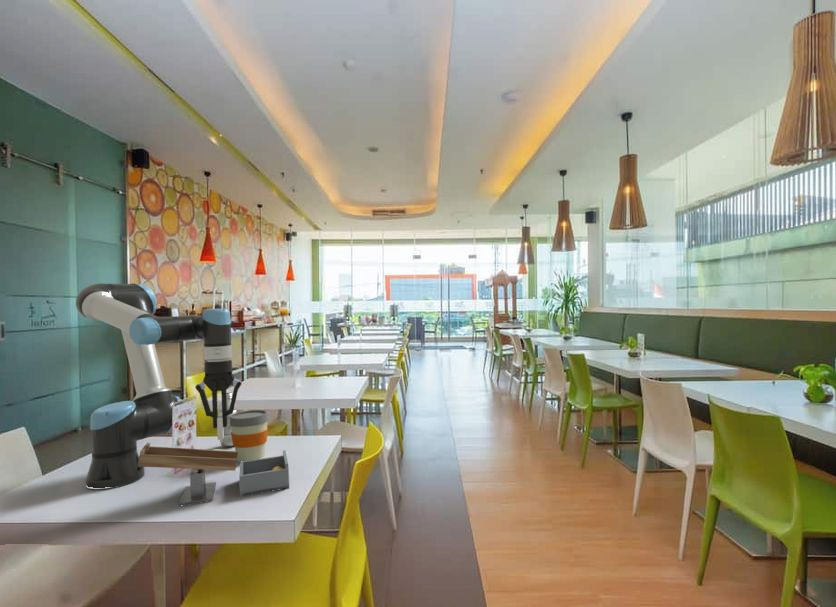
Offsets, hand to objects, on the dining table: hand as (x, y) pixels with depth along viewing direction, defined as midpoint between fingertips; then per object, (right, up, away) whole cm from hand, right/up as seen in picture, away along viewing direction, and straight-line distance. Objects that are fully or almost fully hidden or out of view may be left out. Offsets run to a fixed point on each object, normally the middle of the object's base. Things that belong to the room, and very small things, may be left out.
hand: (220, 438), depth 136 cm
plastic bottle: (-12, -14, +35) cm, 39 cm away
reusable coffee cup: (+1, -13, +21) cm, 25 cm away
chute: (-5, -5, -7) cm, 10 cm away
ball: (+18, -10, -3) cm, 20 cm away
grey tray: (+15, -12, -4) cm, 19 cm away
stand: (-2, -13, -10) cm, 16 cm away
